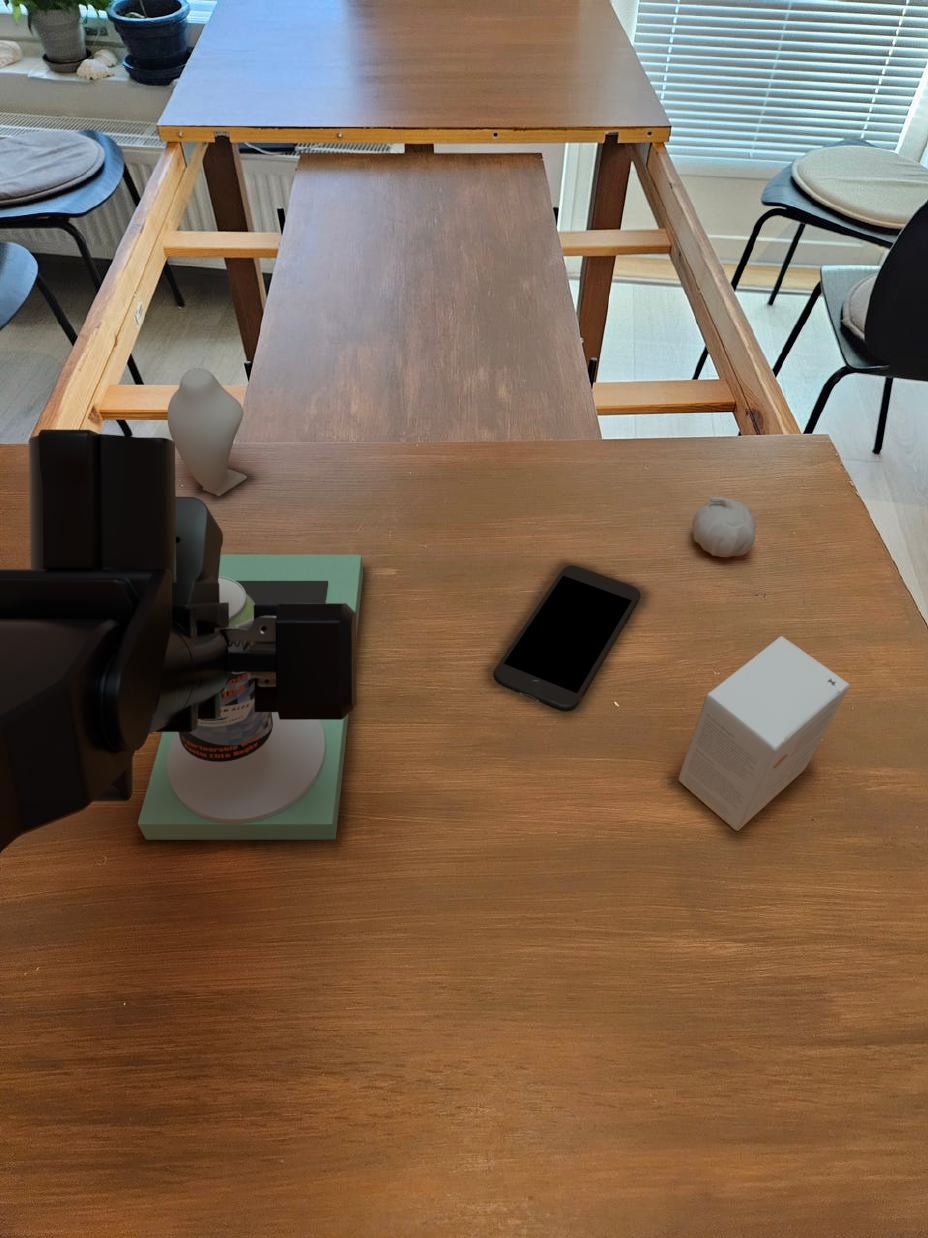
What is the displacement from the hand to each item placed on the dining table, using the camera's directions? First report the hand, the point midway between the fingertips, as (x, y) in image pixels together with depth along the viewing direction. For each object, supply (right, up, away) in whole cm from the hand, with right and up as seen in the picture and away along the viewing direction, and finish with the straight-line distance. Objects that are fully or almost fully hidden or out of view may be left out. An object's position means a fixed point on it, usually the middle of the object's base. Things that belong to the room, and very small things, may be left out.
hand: (222, 649), depth 56 cm
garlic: (+38, +8, +25) cm, 46 cm away
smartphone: (+24, 0, +18) cm, 30 cm away
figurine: (-8, +15, +30) cm, 35 cm away
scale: (0, -4, +13) cm, 14 cm away
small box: (+35, -10, +8) cm, 38 cm away
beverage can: (0, -6, +4) cm, 7 cm away
